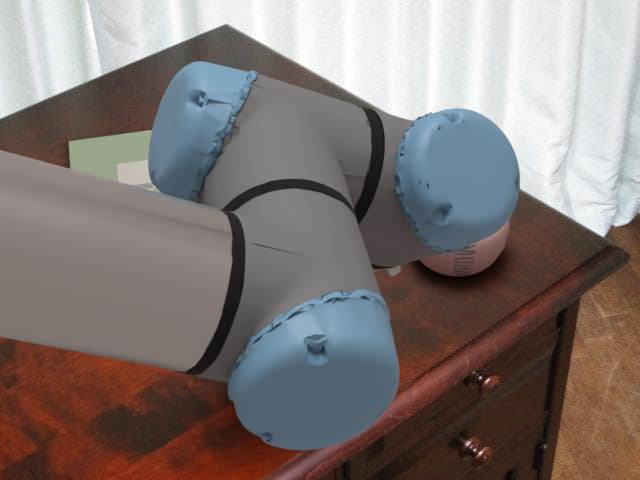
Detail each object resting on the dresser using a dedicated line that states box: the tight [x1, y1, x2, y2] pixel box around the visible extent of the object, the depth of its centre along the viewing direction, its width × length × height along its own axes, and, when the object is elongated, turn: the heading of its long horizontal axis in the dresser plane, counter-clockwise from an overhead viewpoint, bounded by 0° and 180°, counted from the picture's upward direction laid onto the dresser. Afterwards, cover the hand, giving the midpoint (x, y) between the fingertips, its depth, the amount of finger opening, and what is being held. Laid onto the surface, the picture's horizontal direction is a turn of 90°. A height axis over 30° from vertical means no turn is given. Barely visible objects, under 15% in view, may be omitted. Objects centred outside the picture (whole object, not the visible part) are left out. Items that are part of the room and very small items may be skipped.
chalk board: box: [68, 129, 161, 193], centre depth 121 cm, size 22×12×1 cm, turn 11°
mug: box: [419, 219, 511, 277], centre depth 113 cm, size 12×10×6 cm
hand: (212, 273), depth 95 cm, fingers closed on eraser, 3 cm apart
